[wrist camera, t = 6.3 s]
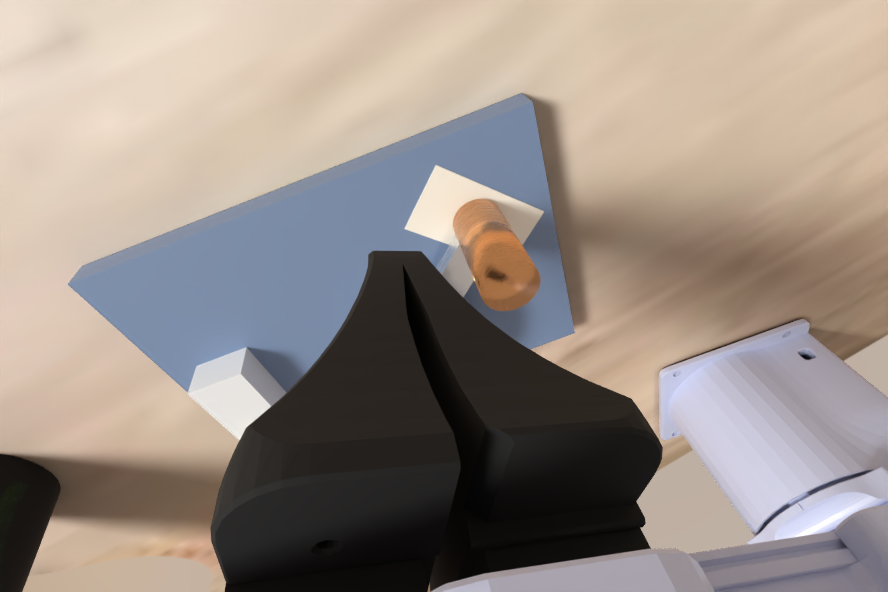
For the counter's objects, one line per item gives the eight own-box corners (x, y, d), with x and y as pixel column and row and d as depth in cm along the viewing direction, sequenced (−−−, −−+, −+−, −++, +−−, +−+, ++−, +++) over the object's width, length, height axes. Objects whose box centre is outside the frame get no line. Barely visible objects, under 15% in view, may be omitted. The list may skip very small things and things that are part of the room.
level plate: (521, 93, 17) (565, 127, 14) (565, 317, 24) (600, 374, 21) (81, 266, 18) (25, 337, 14) (255, 432, 25) (244, 503, 22)
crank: (441, 371, 23) (460, 446, 19) (346, 349, 21) (348, 429, 17) (540, 221, 19) (587, 284, 15) (433, 176, 17) (458, 236, 13)
